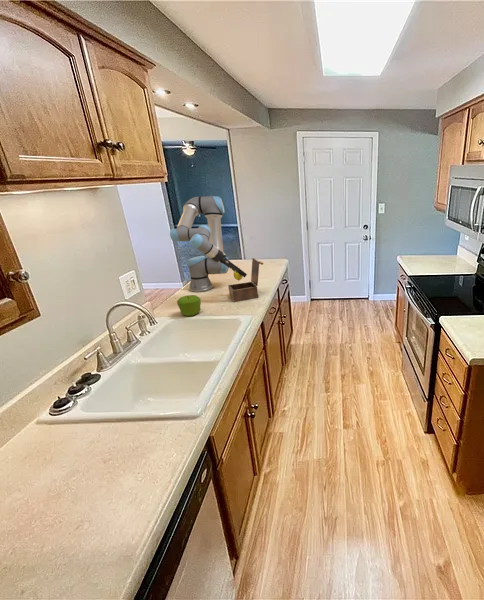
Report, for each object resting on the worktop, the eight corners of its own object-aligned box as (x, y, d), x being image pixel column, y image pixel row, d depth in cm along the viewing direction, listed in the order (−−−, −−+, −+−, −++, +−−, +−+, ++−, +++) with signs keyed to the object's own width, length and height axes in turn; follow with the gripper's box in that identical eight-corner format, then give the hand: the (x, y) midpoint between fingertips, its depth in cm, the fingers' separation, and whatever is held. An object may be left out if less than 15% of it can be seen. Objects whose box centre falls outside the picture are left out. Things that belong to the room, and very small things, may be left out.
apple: (204, 314, 192) (201, 296, 188) (181, 319, 186) (177, 301, 182) (200, 308, 202) (197, 291, 198) (178, 312, 195) (174, 294, 191)
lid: (258, 261, 212) (265, 262, 215) (252, 257, 223) (259, 258, 226) (256, 286, 217) (263, 286, 219) (250, 280, 227) (257, 281, 230)
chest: (234, 302, 212) (232, 290, 209) (229, 296, 223) (228, 285, 220) (258, 297, 220) (257, 286, 217) (252, 292, 231) (251, 281, 228)
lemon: (233, 279, 218) (231, 265, 215) (242, 278, 220) (240, 264, 217) (234, 282, 212) (232, 267, 209) (243, 281, 214) (242, 266, 211)
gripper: (205, 255, 208) (233, 275, 224) (217, 261, 194) (246, 282, 209) (212, 246, 210) (239, 266, 225) (224, 251, 195) (253, 273, 210)
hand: (242, 274), depth 217 cm, fingers closed on lemon, 8 cm apart
